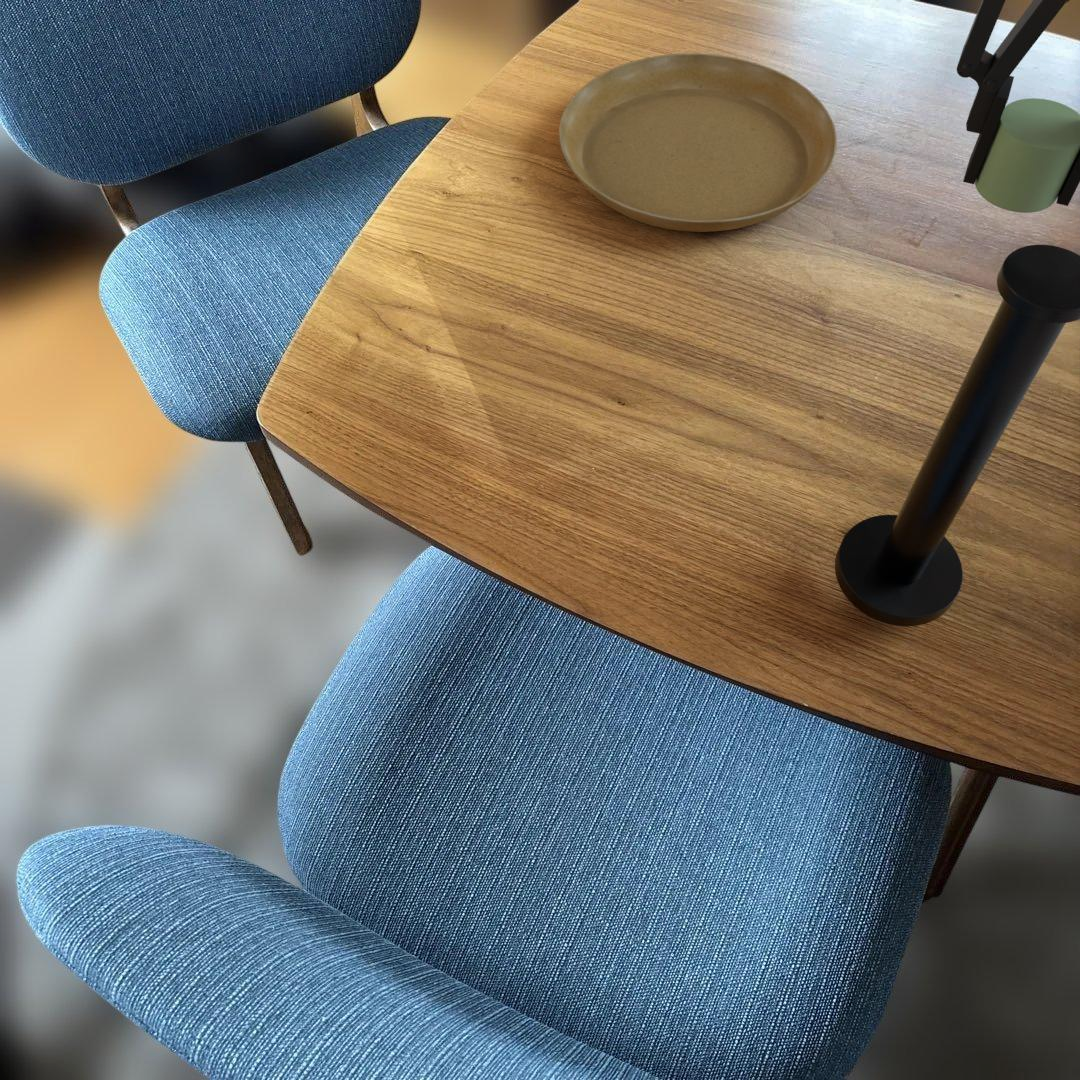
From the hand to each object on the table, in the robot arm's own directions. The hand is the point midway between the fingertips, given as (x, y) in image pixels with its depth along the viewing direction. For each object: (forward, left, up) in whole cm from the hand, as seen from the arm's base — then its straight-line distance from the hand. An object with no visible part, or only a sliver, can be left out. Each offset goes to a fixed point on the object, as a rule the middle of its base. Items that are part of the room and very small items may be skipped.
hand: (1017, 181), depth 72 cm
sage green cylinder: (0, 0, 0) cm, 0 cm away
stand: (-19, +18, -12) cm, 29 cm away
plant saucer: (+25, +11, -12) cm, 30 cm away
